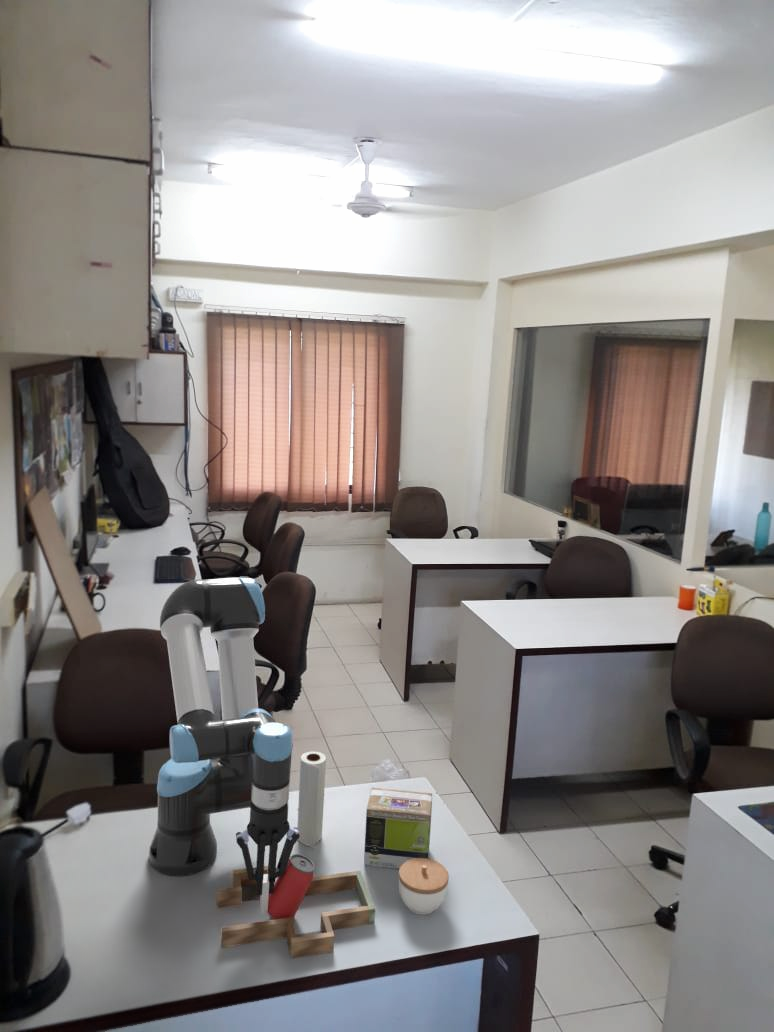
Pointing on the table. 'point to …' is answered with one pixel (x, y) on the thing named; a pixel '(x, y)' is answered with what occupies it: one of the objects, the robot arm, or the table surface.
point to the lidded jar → (422, 884)
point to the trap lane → (285, 926)
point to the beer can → (291, 887)
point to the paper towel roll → (311, 797)
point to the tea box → (397, 827)
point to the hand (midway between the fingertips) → (263, 907)
